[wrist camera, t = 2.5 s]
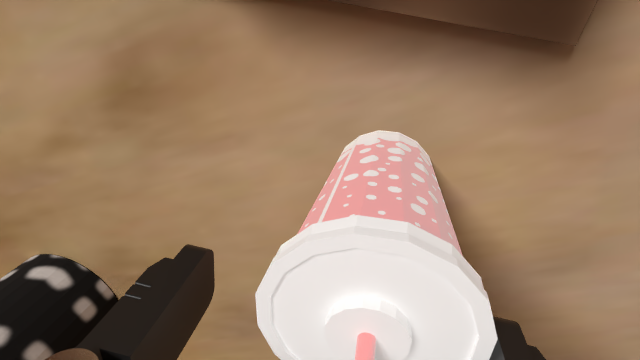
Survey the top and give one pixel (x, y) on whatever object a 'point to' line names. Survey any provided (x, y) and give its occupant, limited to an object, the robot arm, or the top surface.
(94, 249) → the top surface
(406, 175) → the beverage cup
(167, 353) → the robot arm
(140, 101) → the top surface
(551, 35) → the cup holder
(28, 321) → the white-spotted black cylinder
